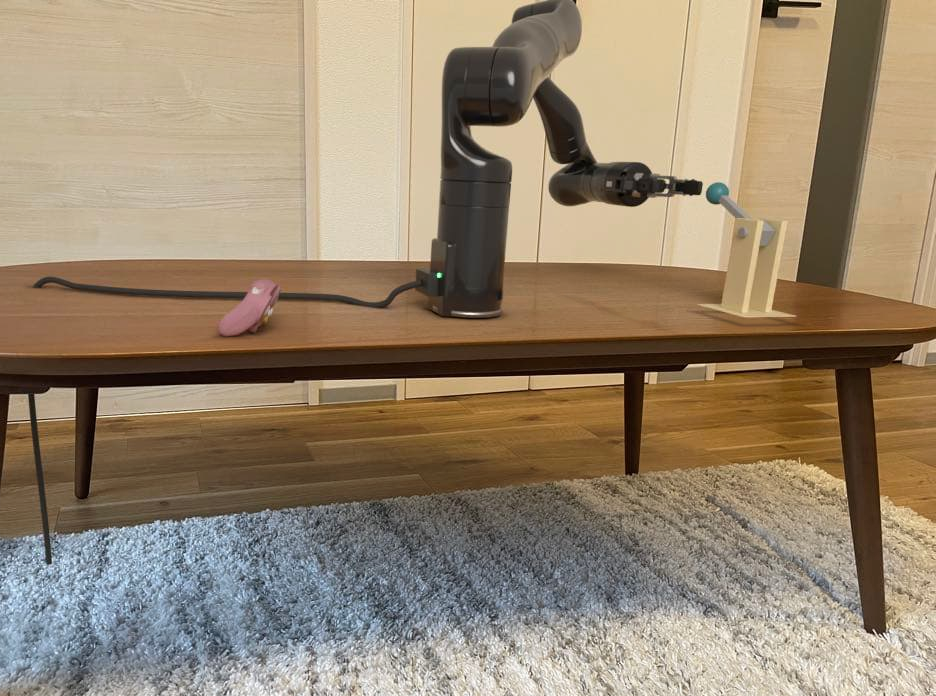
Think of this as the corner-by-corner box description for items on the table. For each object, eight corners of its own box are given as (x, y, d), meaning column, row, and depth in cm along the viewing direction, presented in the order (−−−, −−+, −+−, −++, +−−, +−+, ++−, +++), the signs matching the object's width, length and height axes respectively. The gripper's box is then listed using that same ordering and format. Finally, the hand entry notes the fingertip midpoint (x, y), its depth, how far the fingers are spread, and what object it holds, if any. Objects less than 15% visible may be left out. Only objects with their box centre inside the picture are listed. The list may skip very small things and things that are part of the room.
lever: (698, 197, 117) (707, 177, 115) (715, 198, 118) (725, 178, 116) (749, 248, 107) (760, 227, 105) (768, 248, 108) (780, 228, 106)
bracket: (695, 312, 114) (710, 216, 110) (745, 311, 117) (762, 217, 113) (742, 325, 105) (760, 221, 101) (795, 324, 108) (815, 223, 104)
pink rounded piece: (250, 352, 86) (278, 297, 84) (213, 332, 85) (240, 276, 83) (266, 333, 95) (291, 284, 93) (232, 315, 94) (257, 265, 93)
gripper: (588, 160, 135) (642, 160, 120) (658, 163, 139) (718, 164, 125) (583, 204, 137) (636, 210, 123) (652, 206, 142) (711, 212, 127)
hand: (677, 187), depth 124 cm, fingers open, 8 cm apart
